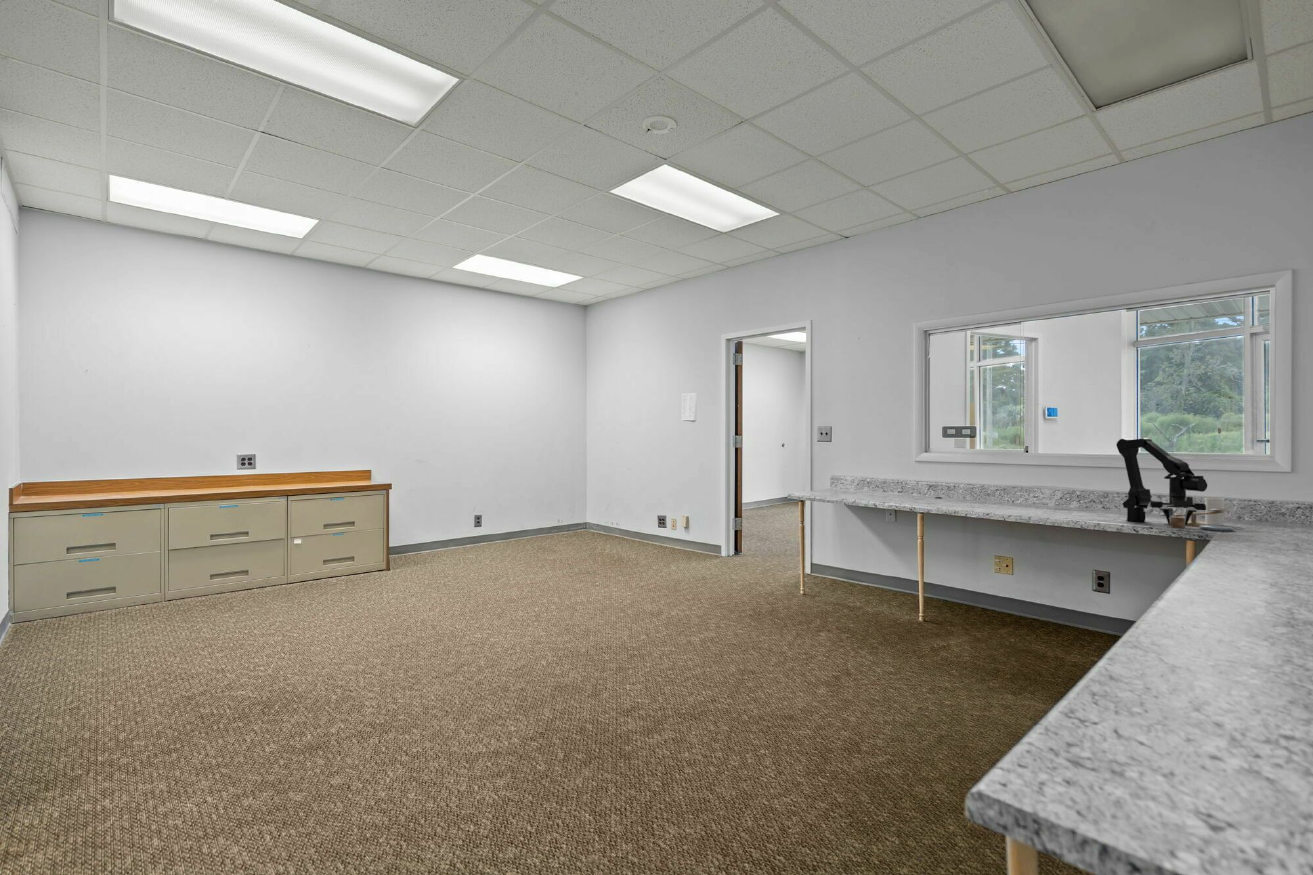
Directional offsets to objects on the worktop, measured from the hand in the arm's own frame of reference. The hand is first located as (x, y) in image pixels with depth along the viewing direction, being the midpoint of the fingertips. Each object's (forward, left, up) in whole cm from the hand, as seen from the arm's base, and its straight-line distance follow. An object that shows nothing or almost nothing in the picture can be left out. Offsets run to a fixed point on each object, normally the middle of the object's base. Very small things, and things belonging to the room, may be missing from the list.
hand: (1177, 524), depth 281 cm
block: (0, 0, -1) cm, 1 cm away
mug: (+17, +19, -1) cm, 26 cm away
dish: (+13, -1, -1) cm, 13 cm away
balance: (+7, +11, -1) cm, 13 cm away
